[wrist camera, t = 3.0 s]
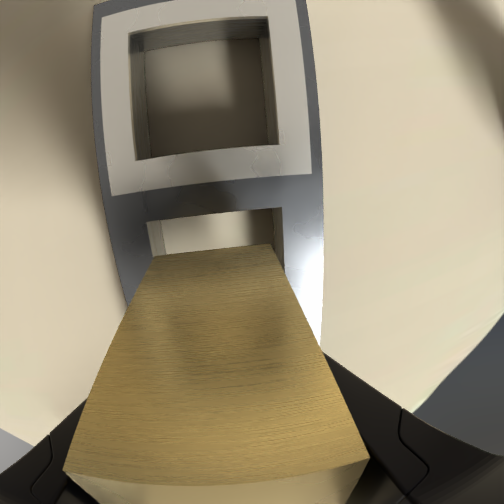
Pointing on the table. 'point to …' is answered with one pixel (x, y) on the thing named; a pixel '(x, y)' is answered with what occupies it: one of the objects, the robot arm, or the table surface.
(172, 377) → the brass peg
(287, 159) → the rail
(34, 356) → the table surface
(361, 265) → the table surface
